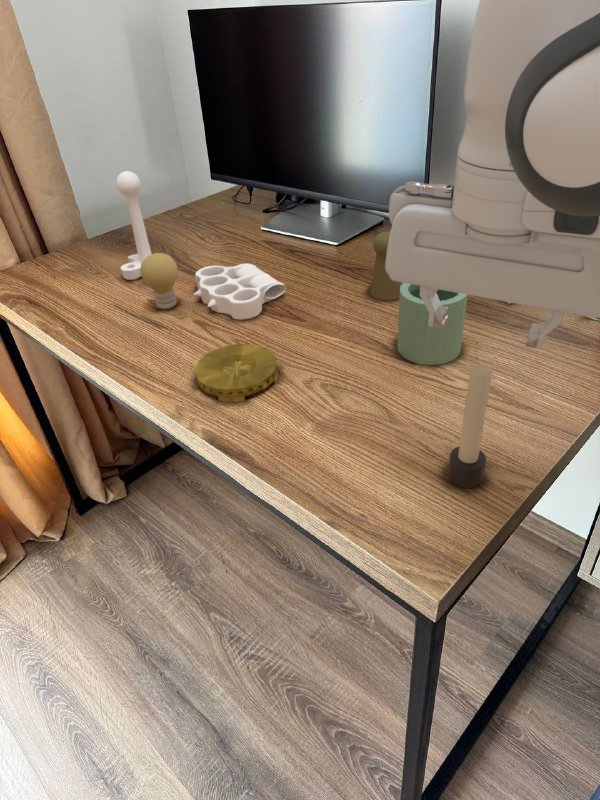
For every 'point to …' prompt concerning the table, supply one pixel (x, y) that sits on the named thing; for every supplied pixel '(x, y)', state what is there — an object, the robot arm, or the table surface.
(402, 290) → the jar
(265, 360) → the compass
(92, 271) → the table surface
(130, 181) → the joystick
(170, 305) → the light bulb
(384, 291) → the brown pawn
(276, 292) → the white brass knuckles
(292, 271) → the table surface
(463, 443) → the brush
